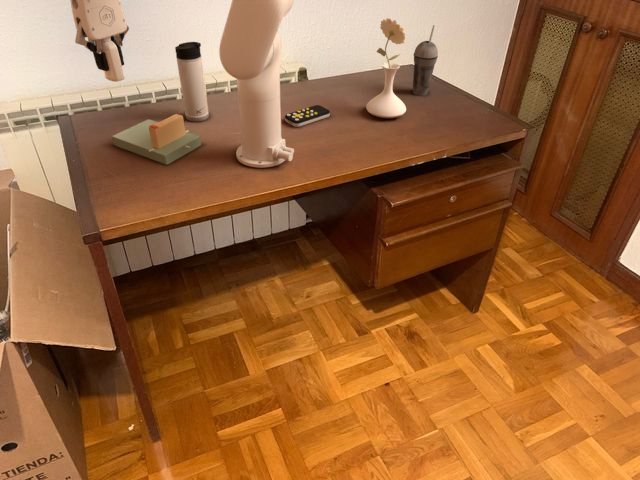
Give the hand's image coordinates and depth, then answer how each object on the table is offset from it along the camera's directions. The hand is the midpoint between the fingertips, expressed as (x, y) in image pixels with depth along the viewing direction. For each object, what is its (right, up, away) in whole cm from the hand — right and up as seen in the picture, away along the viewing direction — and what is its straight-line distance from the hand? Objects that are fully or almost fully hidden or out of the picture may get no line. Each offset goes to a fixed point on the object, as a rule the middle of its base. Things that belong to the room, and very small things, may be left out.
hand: (111, 66), depth 112 cm
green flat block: (+8, -17, +10) cm, 21 cm away
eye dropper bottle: (0, -2, +2) cm, 3 cm away
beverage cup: (+80, +6, +41) cm, 90 cm away
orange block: (+11, -16, +7) cm, 21 cm away
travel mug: (+14, -6, +24) cm, 28 cm away
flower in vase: (+67, -3, +29) cm, 73 cm away
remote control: (+45, -6, +24) cm, 51 cm away
